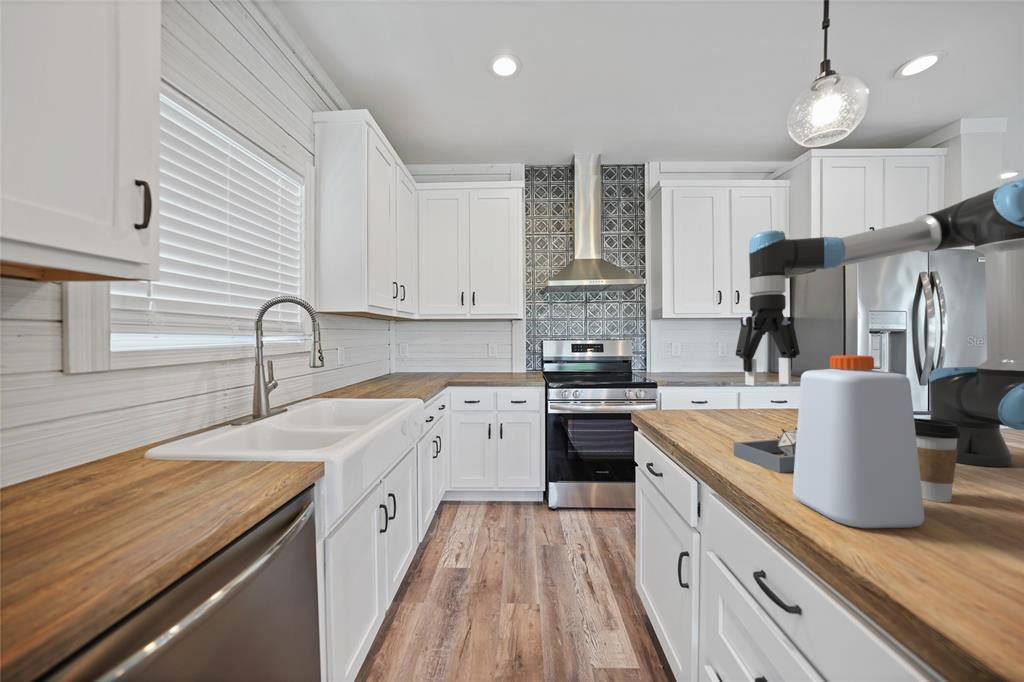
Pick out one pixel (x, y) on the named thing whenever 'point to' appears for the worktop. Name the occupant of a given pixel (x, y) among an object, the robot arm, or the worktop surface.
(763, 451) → the grey shallow tray
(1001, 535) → the worktop surface
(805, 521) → the worktop surface
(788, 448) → the game die
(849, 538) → the worktop surface
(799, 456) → the plastic bottle
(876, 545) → the worktop surface
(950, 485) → the coffee cup
